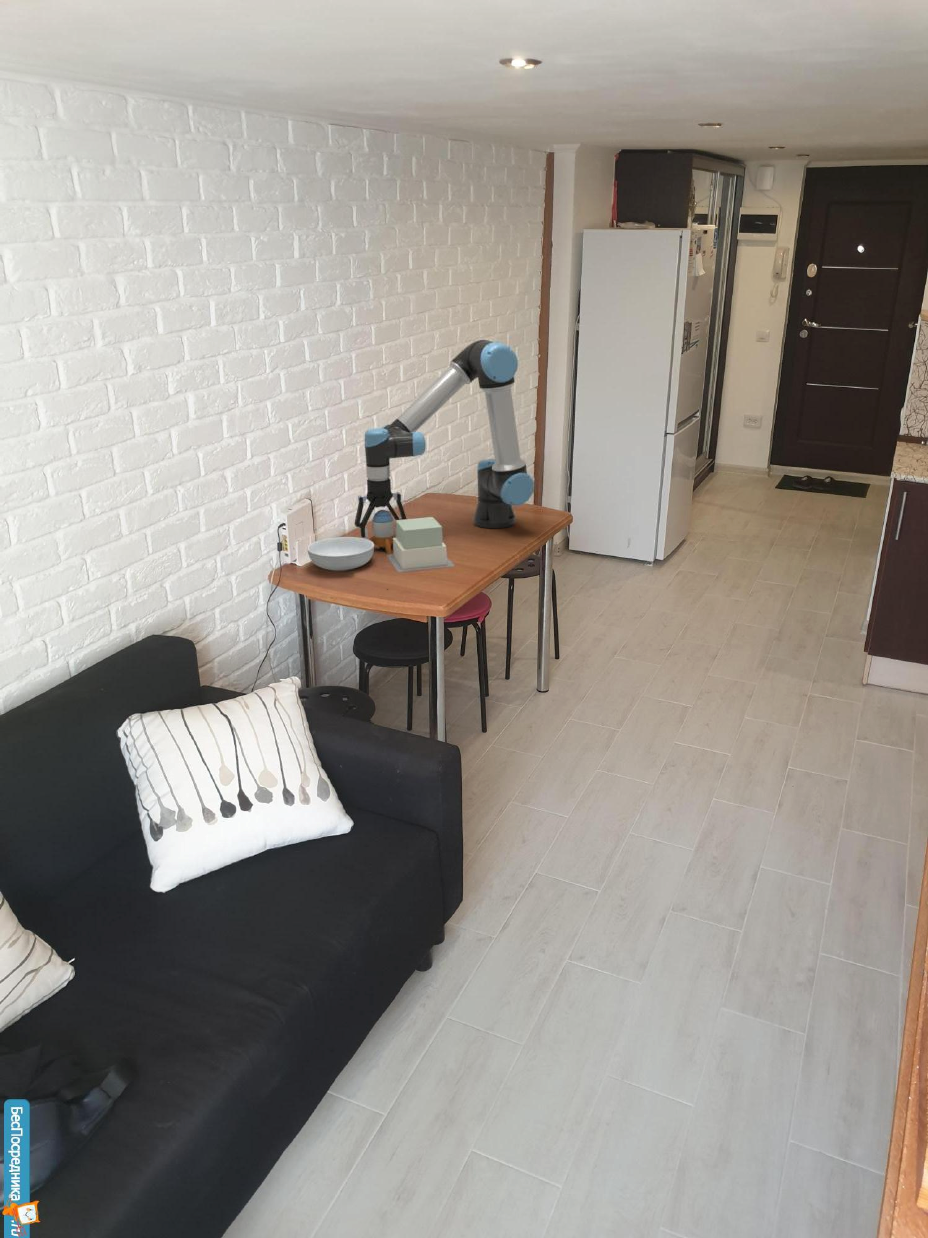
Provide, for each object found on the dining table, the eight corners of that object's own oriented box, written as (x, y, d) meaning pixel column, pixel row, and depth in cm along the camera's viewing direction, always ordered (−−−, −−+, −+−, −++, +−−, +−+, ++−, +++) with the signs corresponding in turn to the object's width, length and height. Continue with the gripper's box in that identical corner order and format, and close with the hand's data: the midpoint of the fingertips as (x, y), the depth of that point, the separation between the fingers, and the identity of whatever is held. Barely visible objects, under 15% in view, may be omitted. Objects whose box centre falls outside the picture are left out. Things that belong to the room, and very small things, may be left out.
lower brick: (435, 551, 308) (435, 533, 306) (446, 564, 295) (446, 546, 293) (393, 555, 304) (392, 537, 302) (402, 569, 292) (402, 550, 290)
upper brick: (433, 534, 305) (432, 516, 302) (442, 545, 294) (442, 526, 292) (396, 538, 302) (395, 520, 299) (404, 549, 291) (403, 530, 289)
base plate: (440, 552, 311) (440, 549, 310) (454, 569, 294) (454, 565, 294) (386, 557, 306) (386, 554, 306) (398, 575, 290) (397, 571, 290)
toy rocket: (396, 559, 307) (385, 517, 300) (365, 563, 310) (353, 521, 303) (403, 545, 316) (392, 504, 309) (373, 549, 318) (361, 508, 311)
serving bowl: (387, 560, 304) (386, 539, 301) (354, 580, 286) (352, 559, 283) (331, 553, 312) (329, 533, 309) (295, 572, 294) (293, 551, 292)
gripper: (410, 472, 309) (412, 538, 318) (342, 478, 304) (346, 545, 312) (415, 477, 303) (417, 545, 311) (345, 483, 297) (350, 551, 305)
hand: (382, 545), depth 312 cm, fingers closed on toy rocket, 10 cm apart
